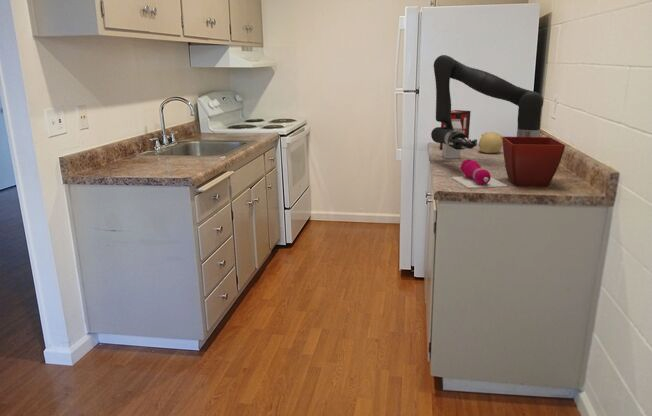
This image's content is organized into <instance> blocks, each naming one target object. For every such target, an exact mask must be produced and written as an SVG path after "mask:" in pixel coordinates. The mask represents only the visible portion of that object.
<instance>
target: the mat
mask: <svg viewBox="0 0 652 416" xmlns="http://www.w3.org/2000/svg"><path fill="white" fill-rule="evenodd" d="M450 179H452V180H453V181H455V182H456V183H458V184H460V185H461V186H463V187H465V188H467V189H488V188H508V187H509V186H508V184H505V183H503V182H501V181H499V180H498V179H495V178H493V177H491V178H490V181H489V182H488V183H487V184H485V185H480V184H478V183H477V182H476V181H475V179H474V178H468V177H466V176H465V175H464V176H450Z"/></svg>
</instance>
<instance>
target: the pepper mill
mask: <svg viewBox="0 0 652 416" xmlns="http://www.w3.org/2000/svg"><path fill="white" fill-rule="evenodd" d="M460 171H461V172H462V174H463V175H464V177H465V176H466V177H468V178H474V179H475V181H476V182H477V183H478V184H480V185H485V184H487V183H488V182H489V181H490V178H492V176H491V173H490V172H489V171H488V170H487V169H484V168H482V166H481V165H480V163H478V162H477V161H475V160H473V159H469V158H468V159H465V160H464V161H462V163H461V165H460Z"/></svg>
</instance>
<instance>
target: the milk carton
mask: <svg viewBox="0 0 652 416" xmlns="http://www.w3.org/2000/svg"><path fill="white" fill-rule="evenodd" d="M451 121H452V126H453V129H454V131H458V132H461V133H462V126H461V122H460V119H451ZM444 127H445V125H444ZM461 150H462V149H461ZM461 150H456V149H454V148H452V147H450V146H448V145H446V144H444V143H443V147H442V150H441V157H443V158H445V159H461V152H462V151H461Z"/></svg>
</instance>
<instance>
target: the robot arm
mask: <svg viewBox="0 0 652 416" xmlns="http://www.w3.org/2000/svg"><path fill="white" fill-rule="evenodd" d="M433 71H434V72H433V73H434V79H435V98H436V99H435V121H436V122H439V123H441V122H442V123H444V124H445V127H441V126H439V127H434V128H433V129H432V130H431V133H430V135H431V139H432V141H433V142H434V143H437V144H440V143H444V144H446V145H448V146H450V147H452V148H454V149H456V150H464V149H469V150H470V149H471V150H472V149H474V148H475V147H476V146H477V145H478V139H475V138H474V139H472V140H471V139H468V138H467V136H466V135H465V134H464V133H461V132H458V131H454V129H453V126H452V121H451V111H452V97H451V90H450V88H451V87H450V81H451V79H453V80H455V81H458V82H460V83H463V84H464V85H466V86H467V87H468V88H471V89H472V90H474V91H476V92H478V93H481V94H483V95H484V96H487V97H491V98H494V99H497V100H502V101H506V102H509V103H511V104H512V105H513V104H514V105H515V106H517V107H518V109H517V110H518V111H517V131H516V137H540V130H541V116H542V108H543V105H544V98H543V96H542V95H541V94H540V93H539V92H537V91H534V90H529V89H527V88H523V87H520V86H518V85H515V84H512V82H509V81H507V80H505V79H504V78H501V77H499V76H498V75H495V74H492V73H491V72H488V71H485V70H482V69H479V68H475V67H474V68H473V67H471V66H470V67H469V66H468V65H465V64H463V63H461V62H460V61H458V60H456V59H454V58H453V57H451V56H449V55H446V54H445V55H444V54H441V55H439V56H438V57H436V58H435V60H434V62H433ZM463 148H464V149H463Z"/></svg>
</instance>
